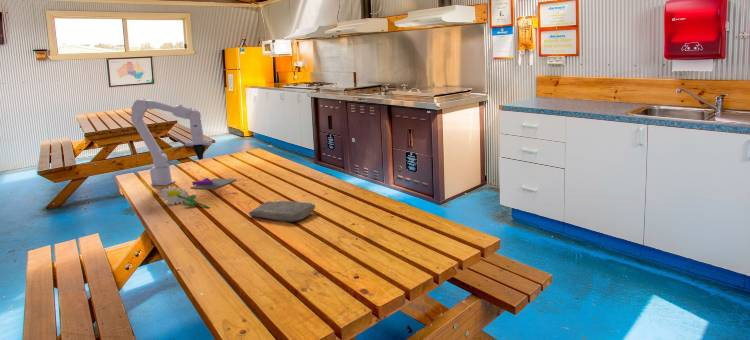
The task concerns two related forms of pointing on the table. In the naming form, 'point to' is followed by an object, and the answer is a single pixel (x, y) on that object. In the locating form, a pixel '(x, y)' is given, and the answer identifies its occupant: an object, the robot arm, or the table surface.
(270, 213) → the stone
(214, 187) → the mat
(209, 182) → the arrowhead
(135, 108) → the robot arm
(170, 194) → the decorative flower
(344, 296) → the table surface
